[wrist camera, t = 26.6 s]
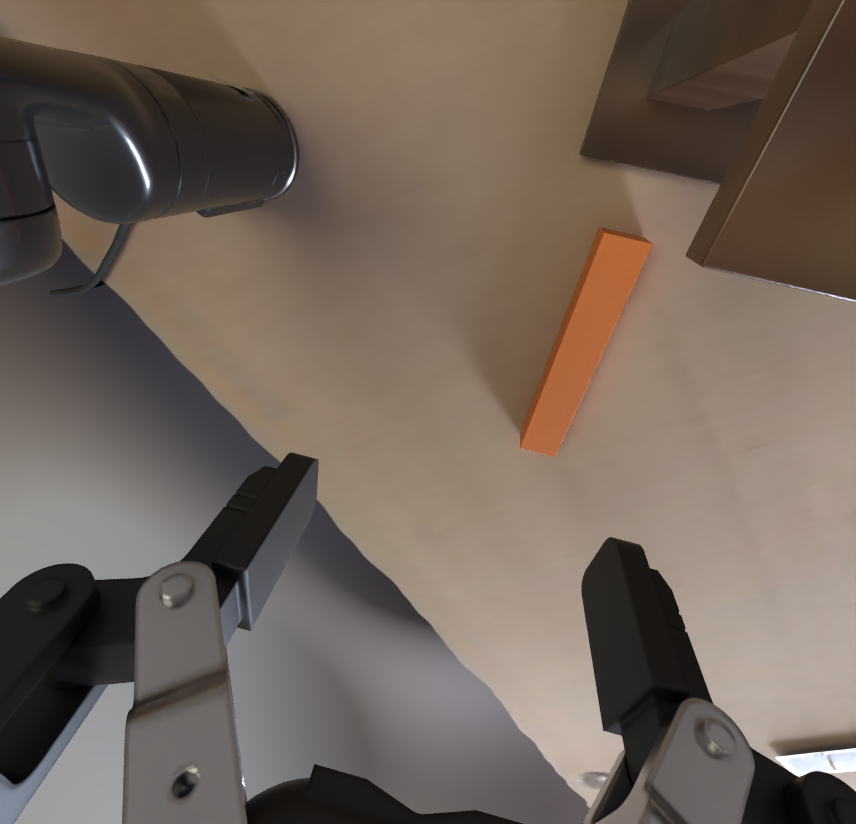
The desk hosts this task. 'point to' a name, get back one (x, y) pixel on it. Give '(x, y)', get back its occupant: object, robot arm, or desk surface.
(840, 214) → the walnut stand
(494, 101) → the desk surface
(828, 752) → the white framed picture
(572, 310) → the orange box
